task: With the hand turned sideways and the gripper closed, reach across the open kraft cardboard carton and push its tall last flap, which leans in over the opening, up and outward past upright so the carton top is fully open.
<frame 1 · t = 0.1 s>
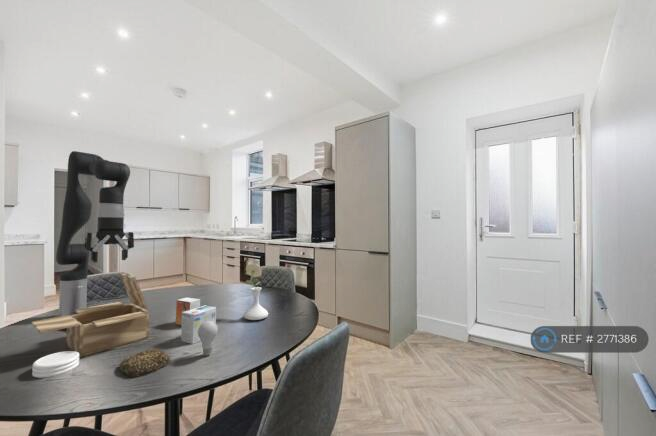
hand: (109, 261, 103), 29 cm above the table, tool pointing down, fingers open, 8 cm apart
flower in vase: (254, 318, 132), on the table
bread roll: (146, 367, 87), on the table
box: (90, 327, 119), on the table
light bulb box: (198, 338, 108), on the table
small box: (187, 324, 123), on the table
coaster: (56, 370, 84), on the table
carton flap: (133, 290, 110), point 17 cm above the table, hinge at 20.0°
lightbulb: (207, 355, 94), on the table
carton: (108, 341, 104), on the table
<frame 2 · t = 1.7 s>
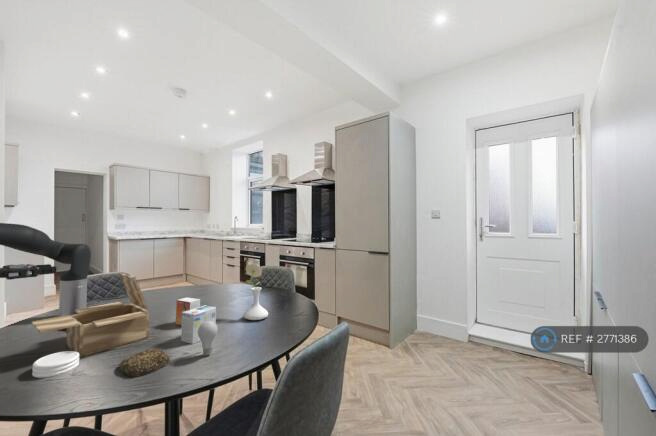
hand: (53, 268, 92), 28 cm above the table, tool horizontal, fingers open, 6 cm apart
nothing on the table moved.
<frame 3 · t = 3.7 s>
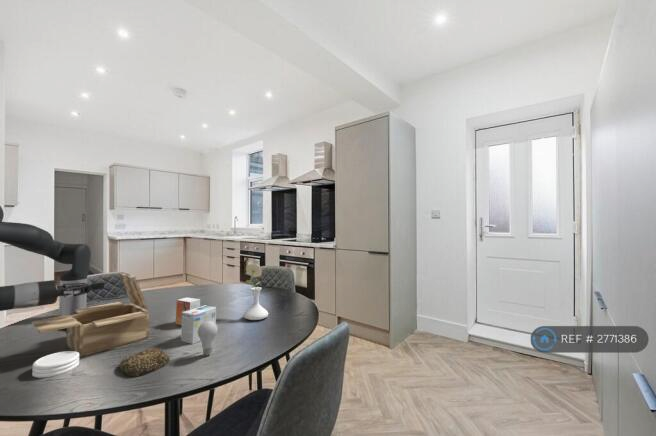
hand: (103, 285, 102), 21 cm above the table, tool horizontal, fingers closed
nothing on the table moved.
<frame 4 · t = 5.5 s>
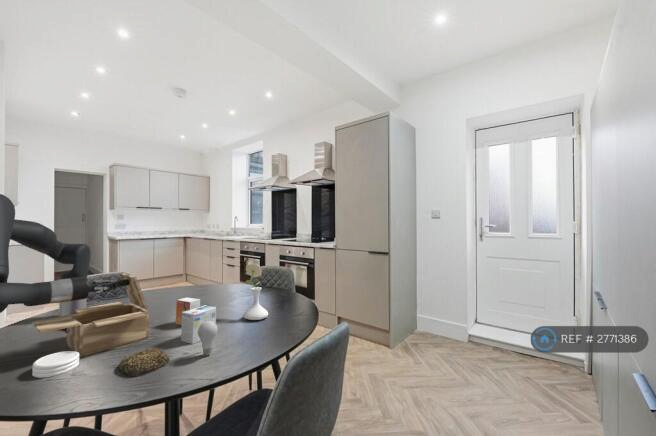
hand: (128, 282, 109), 21 cm above the table, tool horizontal, fingers closed
carton flap: (133, 290, 110), point 17 cm above the table, hinge at 19.1°, touching gripper
everything else where it was.
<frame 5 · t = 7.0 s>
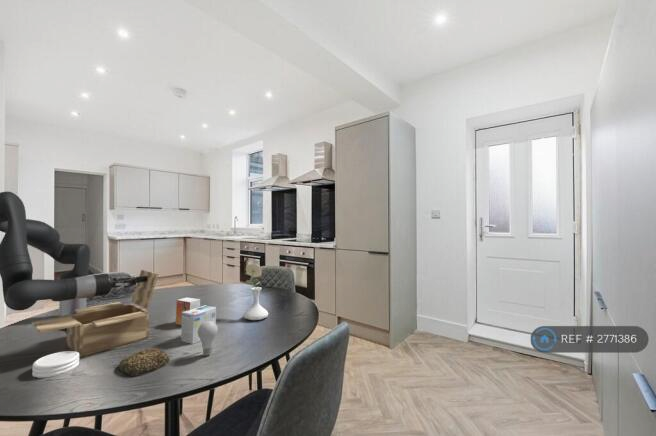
hand: (146, 278, 114), 21 cm above the table, tool horizontal, fingers closed
carton flap: (144, 288, 113), point 17 cm above the table, hinge at -14.7°, touching gripper
everything else where it was.
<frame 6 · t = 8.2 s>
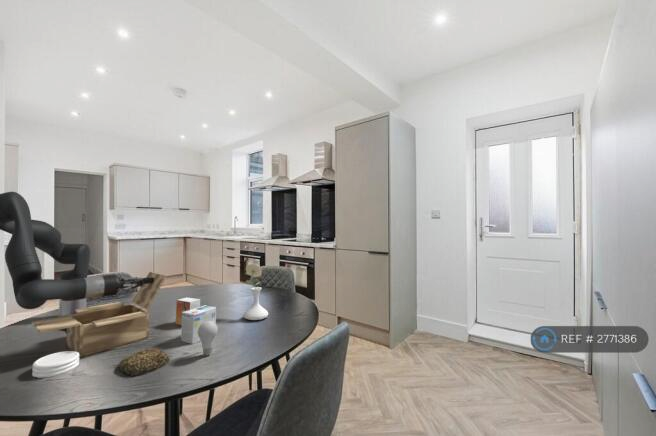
hand: (152, 279, 115), 20 cm above the table, tool horizontal, fingers closed
carton flap: (148, 289, 114), point 17 cm above the table, hinge at -29.3°, touching gripper
everything else where it was.
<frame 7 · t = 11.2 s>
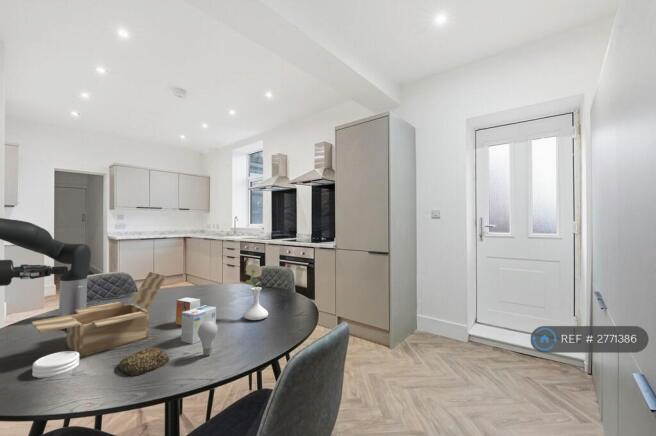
hand: (67, 269, 95), 27 cm above the table, tool horizontal, fingers closed
carton flap: (149, 289, 114), point 17 cm above the table, hinge at -29.4°
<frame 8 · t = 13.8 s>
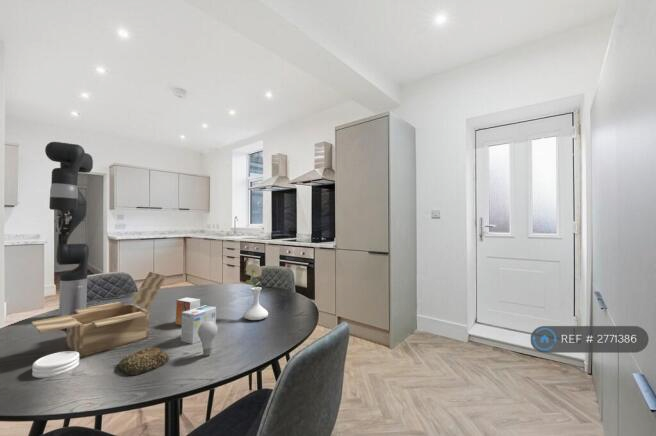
hand: (62, 244, 104), 35 cm above the table, tool pointing down, fingers closed
at the end: carton flap at -29° (first picture: +20°) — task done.
